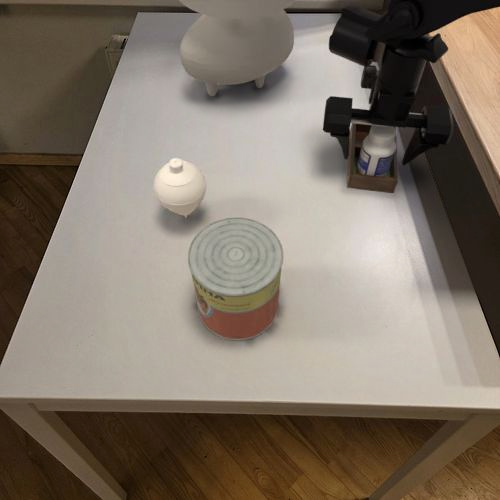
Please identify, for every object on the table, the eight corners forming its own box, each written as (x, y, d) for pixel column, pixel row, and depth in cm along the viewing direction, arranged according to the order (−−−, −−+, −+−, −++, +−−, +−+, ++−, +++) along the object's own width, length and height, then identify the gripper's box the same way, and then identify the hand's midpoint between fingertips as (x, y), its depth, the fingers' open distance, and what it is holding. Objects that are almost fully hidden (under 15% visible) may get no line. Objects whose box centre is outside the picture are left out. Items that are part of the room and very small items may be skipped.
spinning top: (200, 241, 69) (191, 187, 60) (154, 230, 71) (138, 175, 61) (216, 205, 74) (211, 149, 64) (173, 195, 75) (161, 138, 65)
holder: (391, 134, 84) (395, 122, 81) (393, 193, 75) (398, 180, 73) (349, 130, 84) (352, 117, 82) (346, 187, 76) (349, 175, 73)
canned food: (186, 285, 65) (175, 235, 55) (257, 259, 67) (258, 206, 58) (215, 353, 59) (208, 310, 49) (292, 321, 61) (300, 274, 52)
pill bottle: (389, 165, 78) (403, 123, 71) (384, 186, 75) (398, 145, 68) (359, 158, 79) (369, 116, 72) (353, 178, 76) (363, 137, 69)
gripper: (462, 51, 66) (428, 135, 79) (334, 40, 68) (321, 124, 81) (471, 97, 60) (433, 180, 72) (329, 84, 62) (316, 167, 74)
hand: (374, 161), depth 75 cm, fingers open, 9 cm apart
